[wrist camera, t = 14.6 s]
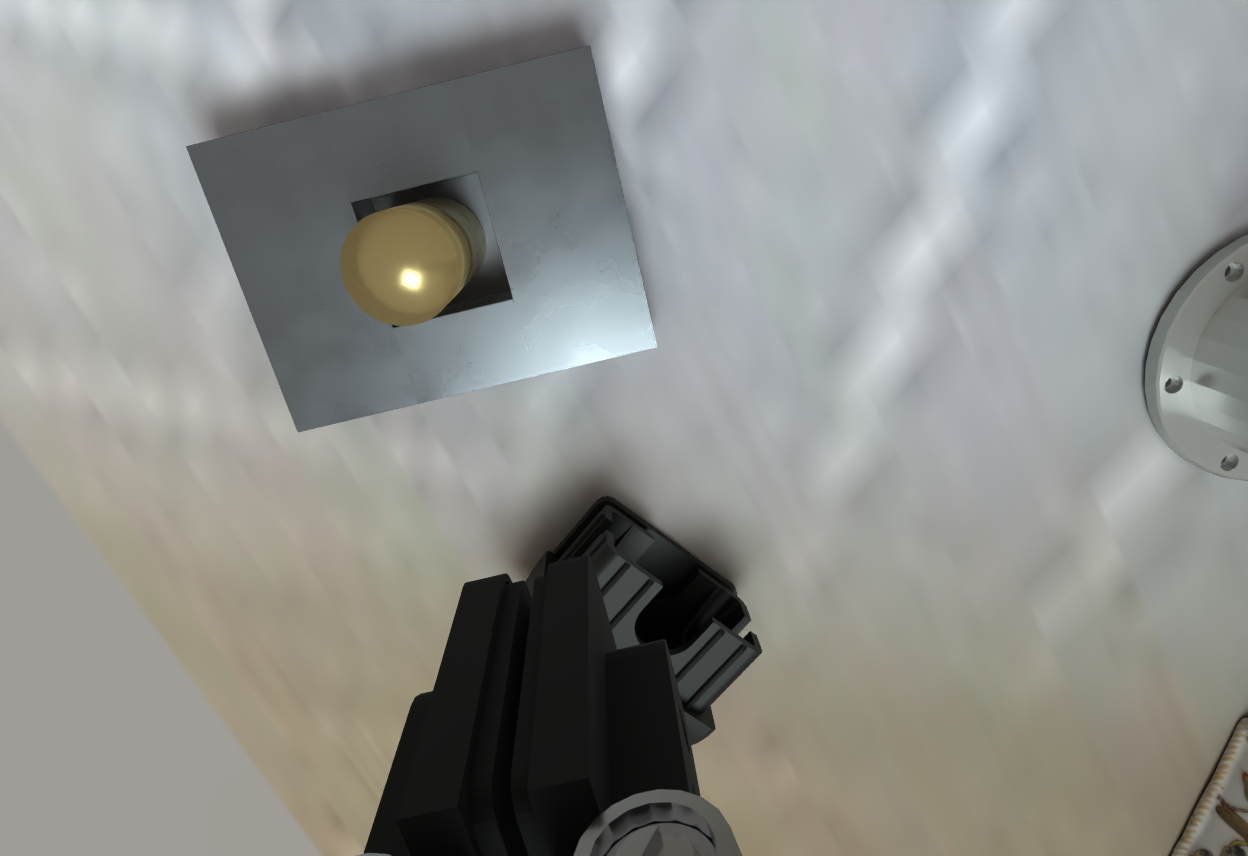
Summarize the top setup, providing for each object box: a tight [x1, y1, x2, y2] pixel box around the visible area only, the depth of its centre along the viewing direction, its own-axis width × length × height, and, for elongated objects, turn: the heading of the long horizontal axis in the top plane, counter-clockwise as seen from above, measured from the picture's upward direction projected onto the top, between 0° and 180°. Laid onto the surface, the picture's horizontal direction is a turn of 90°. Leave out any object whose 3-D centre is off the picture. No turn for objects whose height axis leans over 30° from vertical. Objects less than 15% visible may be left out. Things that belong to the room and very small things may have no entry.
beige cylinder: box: [340, 197, 486, 326], centre depth 31 cm, size 4×4×8 cm
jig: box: [186, 46, 657, 432], centre depth 34 cm, size 16×12×3 cm
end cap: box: [526, 496, 762, 745], centre depth 38 cm, size 10×7×7 cm
